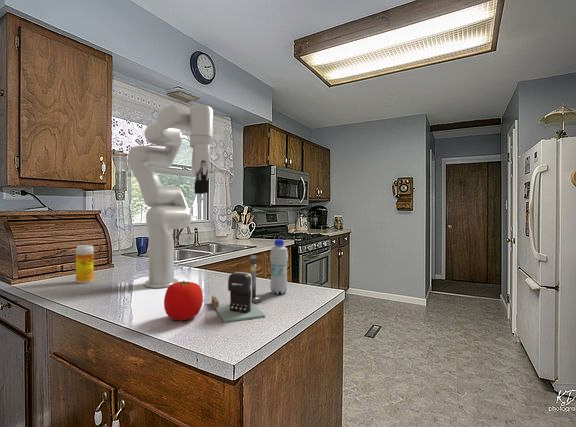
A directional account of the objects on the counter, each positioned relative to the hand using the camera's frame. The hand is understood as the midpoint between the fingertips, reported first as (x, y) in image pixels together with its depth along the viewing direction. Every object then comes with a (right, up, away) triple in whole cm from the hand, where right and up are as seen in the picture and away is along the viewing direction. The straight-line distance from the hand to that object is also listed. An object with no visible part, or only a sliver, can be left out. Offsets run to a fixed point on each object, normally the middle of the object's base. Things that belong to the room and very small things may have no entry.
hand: (201, 193), depth 107 cm
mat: (+15, -37, -13) cm, 42 cm away
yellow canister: (-54, -35, +23) cm, 69 cm away
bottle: (+26, -37, +10) cm, 46 cm away
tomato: (0, -37, -18) cm, 41 cm away
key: (+18, -35, -4) cm, 40 cm away
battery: (+15, -36, -13) cm, 41 cm away
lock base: (+18, -37, -1) cm, 41 cm away
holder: (+10, -37, -4) cm, 38 cm away
